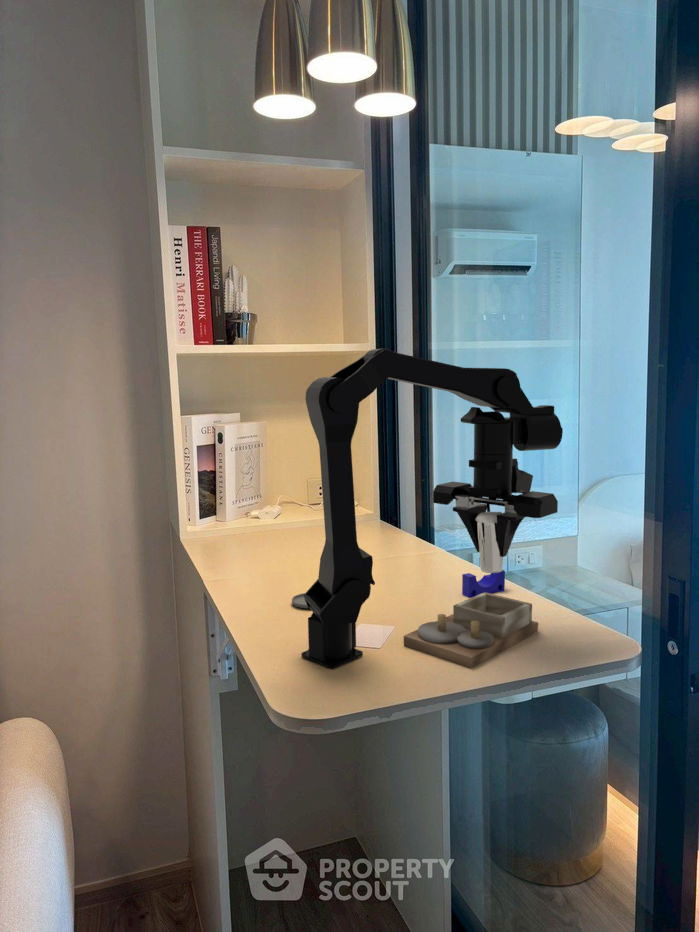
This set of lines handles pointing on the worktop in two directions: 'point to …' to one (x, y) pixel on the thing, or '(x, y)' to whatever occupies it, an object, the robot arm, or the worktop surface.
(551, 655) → the worktop surface
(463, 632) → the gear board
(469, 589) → the cable holder
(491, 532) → the milkshake
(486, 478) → the robot arm
